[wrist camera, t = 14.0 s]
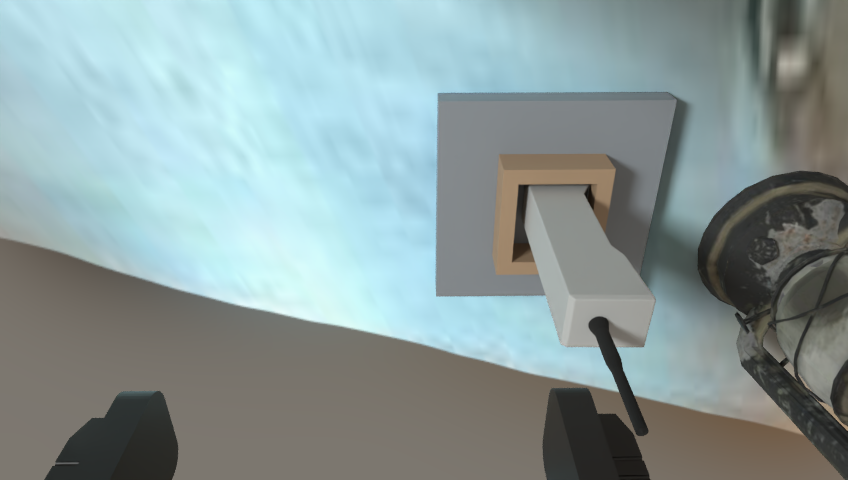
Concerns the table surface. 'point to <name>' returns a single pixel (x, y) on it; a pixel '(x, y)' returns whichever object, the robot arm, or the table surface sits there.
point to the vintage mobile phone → (587, 280)
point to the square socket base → (540, 177)
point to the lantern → (789, 295)
